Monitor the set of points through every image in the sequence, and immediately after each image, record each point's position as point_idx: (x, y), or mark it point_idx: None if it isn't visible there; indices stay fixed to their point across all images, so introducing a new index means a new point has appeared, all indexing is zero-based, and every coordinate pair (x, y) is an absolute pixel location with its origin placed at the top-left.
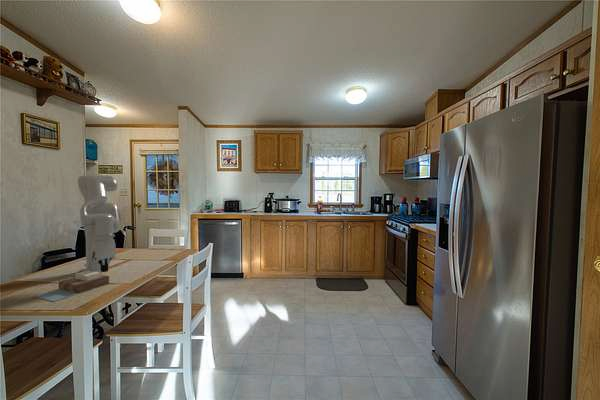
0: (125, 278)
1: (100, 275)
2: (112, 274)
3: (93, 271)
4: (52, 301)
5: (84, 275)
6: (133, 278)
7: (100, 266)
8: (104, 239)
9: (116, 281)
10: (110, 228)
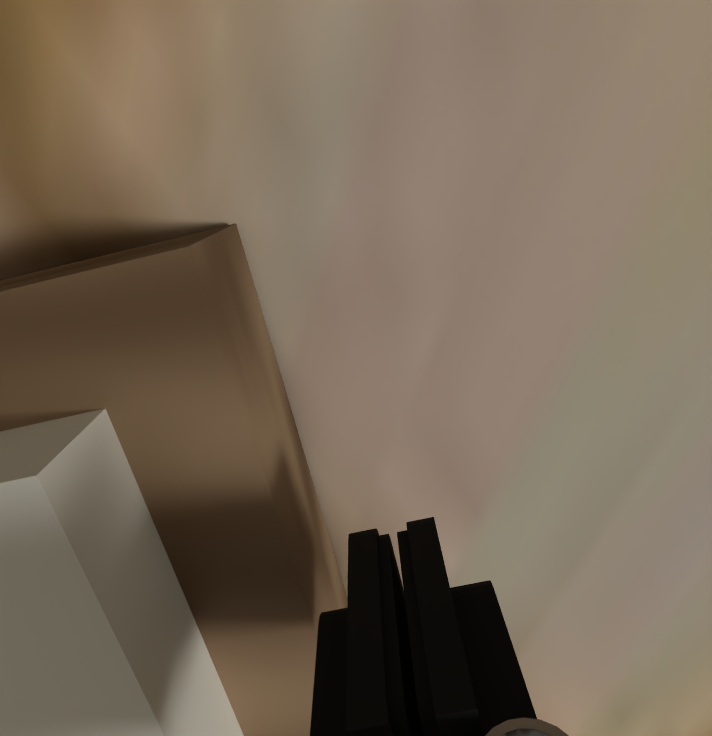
0: (643, 592)
1: (278, 655)
2: (704, 116)
3: (121, 684)
4: None
5: None
6: (697, 678)
7: (311, 719)
8: None
9: None
10: None
